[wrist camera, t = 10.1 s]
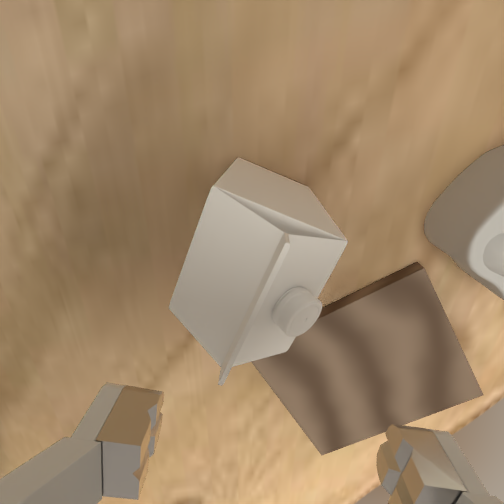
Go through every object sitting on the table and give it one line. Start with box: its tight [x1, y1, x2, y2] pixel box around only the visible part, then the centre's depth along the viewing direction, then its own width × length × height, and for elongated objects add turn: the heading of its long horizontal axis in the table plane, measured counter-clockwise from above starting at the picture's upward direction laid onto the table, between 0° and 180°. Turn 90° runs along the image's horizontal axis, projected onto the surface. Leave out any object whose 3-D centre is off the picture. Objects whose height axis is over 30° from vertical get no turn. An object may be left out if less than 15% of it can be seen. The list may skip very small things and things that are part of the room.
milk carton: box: [169, 157, 348, 386], centre depth 21 cm, size 7×7×19 cm
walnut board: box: [251, 262, 483, 455], centre depth 36 cm, size 20×18×2 cm
